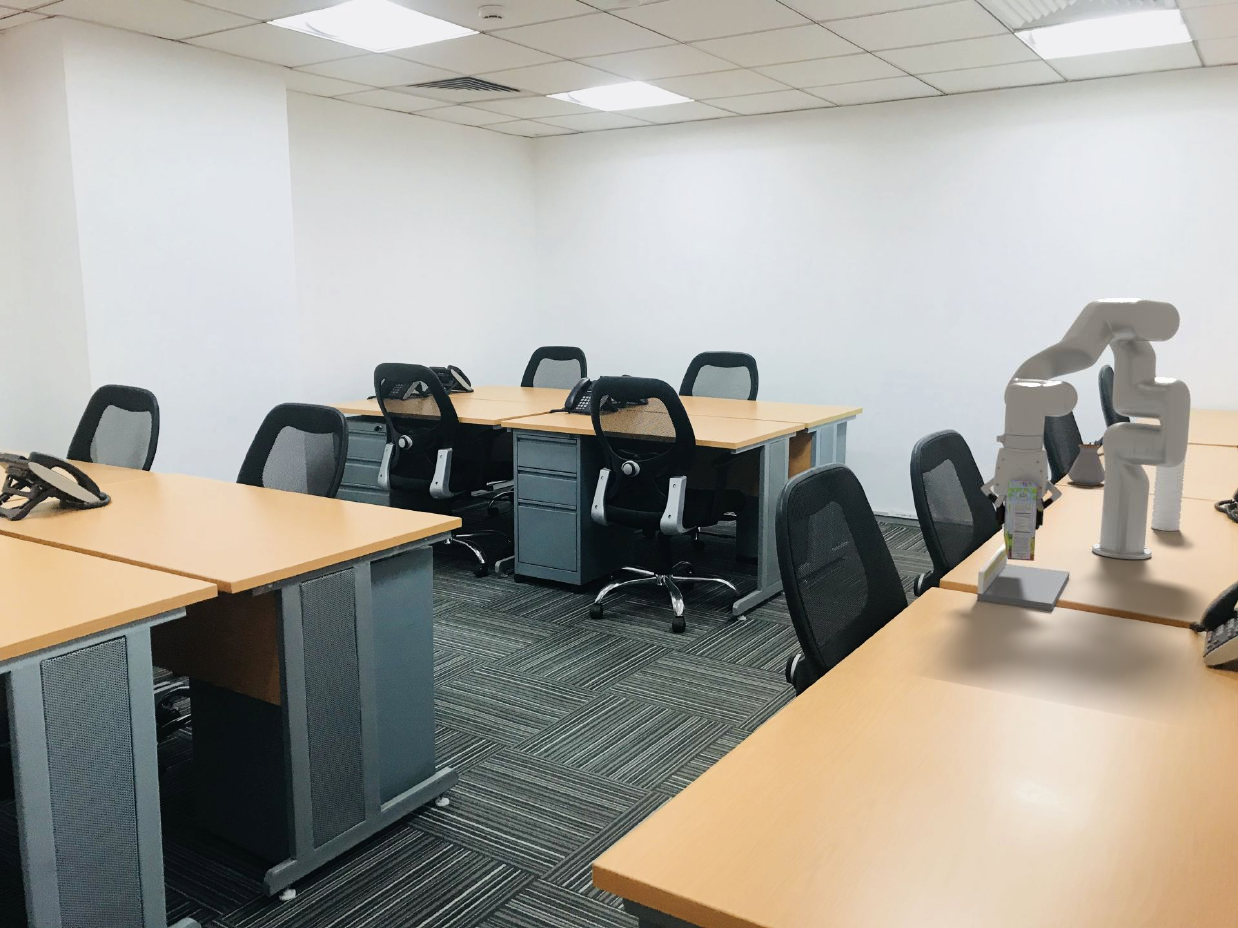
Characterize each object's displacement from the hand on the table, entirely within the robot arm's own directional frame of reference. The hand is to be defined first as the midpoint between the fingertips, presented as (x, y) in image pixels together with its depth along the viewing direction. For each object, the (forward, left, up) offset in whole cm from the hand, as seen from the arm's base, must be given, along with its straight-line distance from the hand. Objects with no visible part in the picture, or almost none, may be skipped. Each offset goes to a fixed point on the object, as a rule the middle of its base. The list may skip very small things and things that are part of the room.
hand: (1018, 525), depth 198 cm
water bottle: (-77, +25, -14) cm, 82 cm away
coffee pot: (-136, +4, -14) cm, 137 cm away
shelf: (0, +2, -13) cm, 14 cm away
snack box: (0, 0, -5) cm, 5 cm away
